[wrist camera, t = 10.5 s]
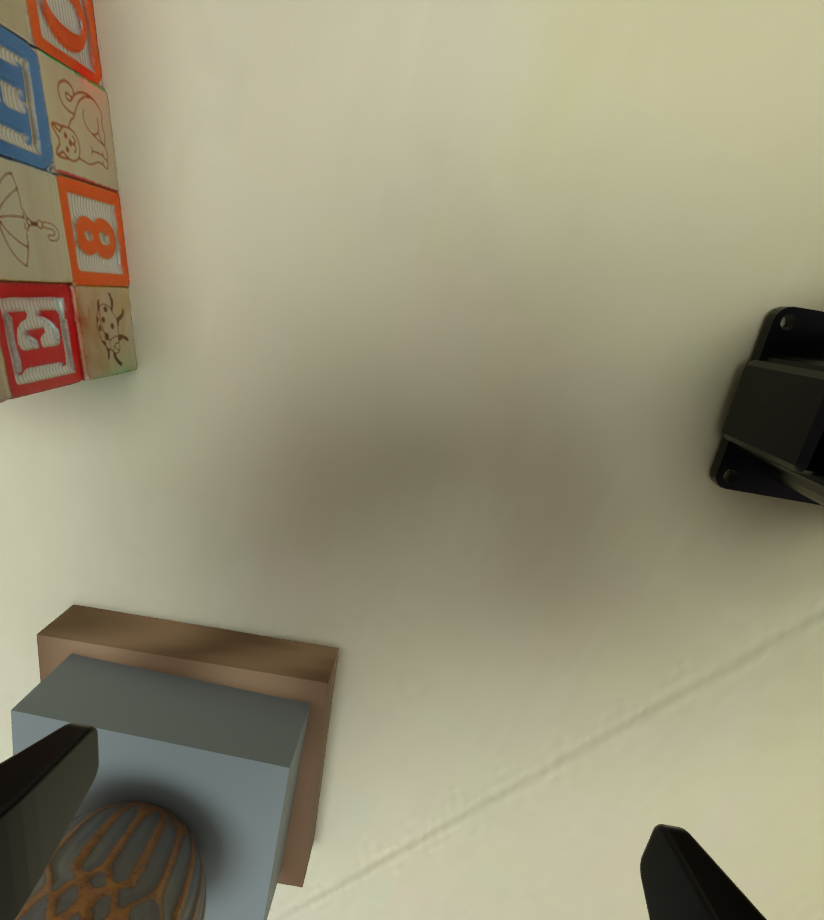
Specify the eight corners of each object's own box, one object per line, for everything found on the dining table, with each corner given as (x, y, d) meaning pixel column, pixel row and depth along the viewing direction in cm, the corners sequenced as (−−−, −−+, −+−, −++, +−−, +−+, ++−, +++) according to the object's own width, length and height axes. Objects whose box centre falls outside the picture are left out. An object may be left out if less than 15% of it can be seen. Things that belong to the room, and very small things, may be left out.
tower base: (342, 636, 23) (328, 683, 20) (317, 824, 27) (302, 887, 24) (86, 593, 23) (36, 634, 20) (96, 787, 27) (54, 845, 24)
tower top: (310, 703, 21) (289, 767, 18) (280, 870, 23) (258, 948, 21) (71, 653, 20) (11, 710, 18) (71, 827, 23) (20, 900, 21)
